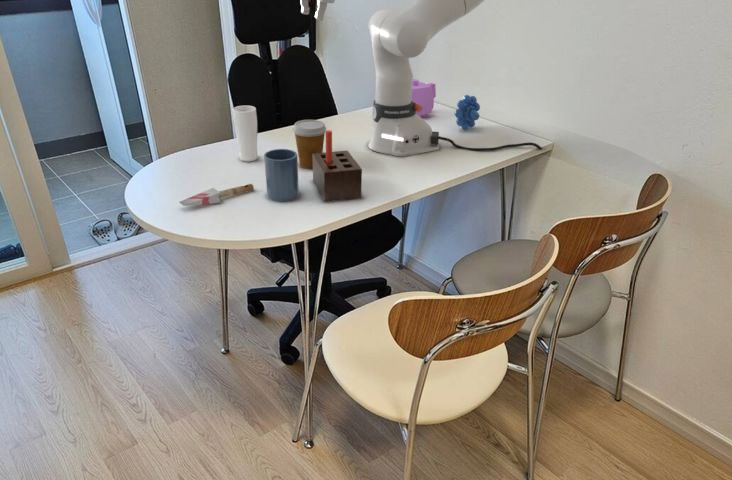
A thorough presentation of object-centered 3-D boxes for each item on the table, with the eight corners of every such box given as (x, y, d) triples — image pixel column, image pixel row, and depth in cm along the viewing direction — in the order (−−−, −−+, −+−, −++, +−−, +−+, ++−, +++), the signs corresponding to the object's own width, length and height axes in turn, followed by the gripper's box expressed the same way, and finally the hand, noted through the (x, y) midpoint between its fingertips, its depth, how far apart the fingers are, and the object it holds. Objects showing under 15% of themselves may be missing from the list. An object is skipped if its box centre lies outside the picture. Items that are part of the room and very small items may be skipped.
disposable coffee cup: (331, 161, 166) (330, 121, 160) (320, 172, 159) (319, 131, 152) (301, 157, 168) (300, 117, 162) (289, 168, 161) (287, 127, 154)
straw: (331, 188, 149) (331, 130, 140) (332, 191, 148) (332, 132, 139) (325, 189, 149) (324, 130, 140) (326, 191, 148) (326, 132, 139)
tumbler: (295, 187, 150) (293, 147, 144) (301, 199, 143) (299, 158, 137) (265, 190, 148) (262, 150, 142) (269, 203, 141) (266, 161, 135)
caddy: (347, 177, 156) (347, 150, 151) (361, 198, 145) (362, 169, 140) (313, 181, 153) (312, 153, 149) (324, 202, 142) (324, 172, 138)
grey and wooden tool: (177, 195, 137) (248, 179, 148) (178, 206, 139) (248, 189, 149) (183, 201, 135) (255, 184, 146) (185, 211, 136) (256, 194, 147)
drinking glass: (255, 163, 164) (251, 112, 155) (234, 162, 165) (228, 111, 156) (263, 155, 169) (259, 106, 161) (242, 154, 170) (237, 104, 162)
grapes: (462, 136, 186) (467, 100, 179) (448, 131, 191) (452, 95, 184) (486, 129, 192) (491, 94, 185) (471, 124, 196) (476, 90, 190)
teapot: (422, 107, 214) (425, 73, 207) (443, 115, 205) (447, 80, 198) (379, 115, 205) (381, 79, 198) (399, 124, 196) (402, 87, 189)
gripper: (345, -38, 135) (339, 24, 142) (312, -45, 150) (308, 11, 157) (321, -41, 132) (316, 23, 139) (290, -48, 147) (287, 10, 154)
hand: (311, 17), depth 148 cm, fingers open, 8 cm apart
